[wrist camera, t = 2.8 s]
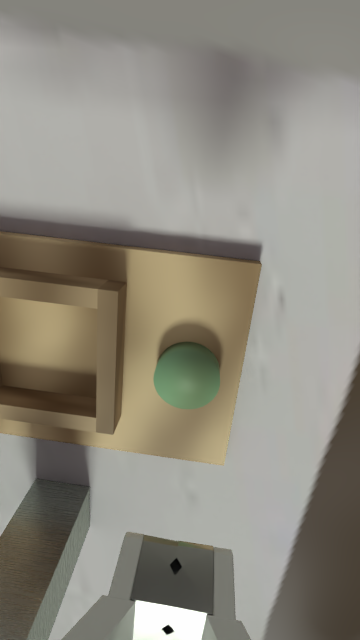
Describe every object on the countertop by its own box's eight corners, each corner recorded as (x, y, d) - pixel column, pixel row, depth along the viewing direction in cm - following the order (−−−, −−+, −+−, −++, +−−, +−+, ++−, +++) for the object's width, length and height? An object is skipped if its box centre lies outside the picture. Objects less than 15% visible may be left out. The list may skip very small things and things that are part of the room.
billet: (38, 518, 26) (-58, 699, 17) (36, 478, 25) (-72, 653, 15) (89, 526, 26) (20, 714, 17) (89, 486, 24) (14, 669, 15)
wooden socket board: (-39, 418, 23) (-68, 444, 21) (-71, 223, 18) (-114, 227, 16) (223, 456, 22) (224, 488, 20) (259, 261, 18) (267, 272, 15)
